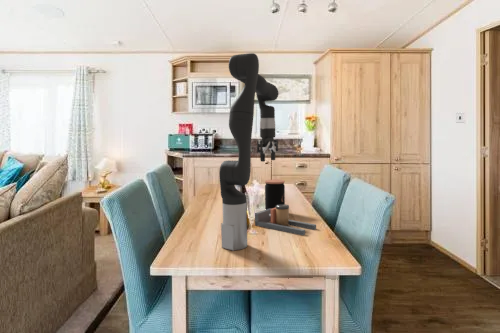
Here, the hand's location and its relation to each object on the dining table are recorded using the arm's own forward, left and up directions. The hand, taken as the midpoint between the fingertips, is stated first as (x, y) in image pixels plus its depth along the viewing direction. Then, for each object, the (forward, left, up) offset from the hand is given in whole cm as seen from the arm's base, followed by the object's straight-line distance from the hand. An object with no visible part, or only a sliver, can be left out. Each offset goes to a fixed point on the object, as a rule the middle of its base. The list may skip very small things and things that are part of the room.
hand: (268, 160), depth 158 cm
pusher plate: (-5, -7, -30) cm, 31 cm away
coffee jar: (+14, +6, -30) cm, 34 cm away
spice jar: (-5, -12, -30) cm, 33 cm away
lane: (-5, -13, -30) cm, 33 cm away
